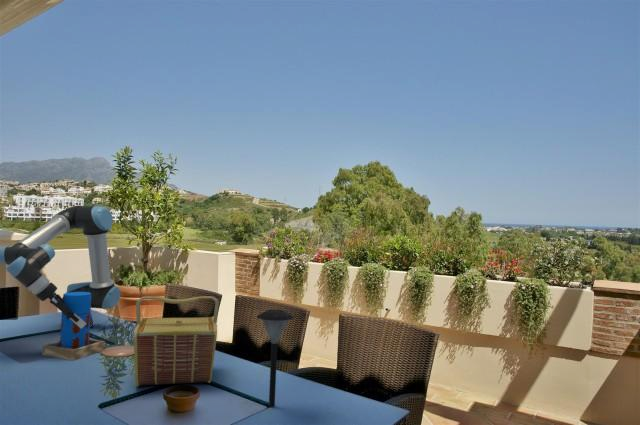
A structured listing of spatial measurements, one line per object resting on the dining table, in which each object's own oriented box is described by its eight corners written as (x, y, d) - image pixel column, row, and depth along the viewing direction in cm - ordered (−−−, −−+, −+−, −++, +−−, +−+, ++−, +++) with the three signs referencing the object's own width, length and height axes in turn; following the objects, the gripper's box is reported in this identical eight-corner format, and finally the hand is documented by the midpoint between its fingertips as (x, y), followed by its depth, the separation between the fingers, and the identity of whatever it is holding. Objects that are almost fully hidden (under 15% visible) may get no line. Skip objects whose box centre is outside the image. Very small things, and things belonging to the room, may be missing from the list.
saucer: (120, 345, 211) (120, 343, 211) (149, 349, 206) (149, 348, 206) (92, 353, 196) (92, 352, 196) (123, 358, 191) (123, 357, 191)
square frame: (75, 345, 207) (75, 336, 207) (104, 350, 202) (104, 341, 202) (42, 355, 192) (43, 345, 192) (73, 360, 186) (73, 350, 186)
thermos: (93, 350, 202) (96, 292, 202) (78, 357, 191) (81, 296, 192) (70, 348, 203) (73, 291, 203) (53, 355, 192) (57, 294, 193)
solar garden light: (291, 399, 154) (295, 308, 155) (290, 414, 142) (294, 315, 142) (254, 398, 153) (258, 307, 154) (250, 413, 141) (254, 314, 142)
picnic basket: (127, 393, 154) (131, 302, 154) (136, 369, 178) (140, 291, 179) (217, 388, 161) (221, 302, 162) (214, 366, 186) (217, 291, 187)
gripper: (35, 291, 200) (73, 324, 207) (34, 299, 179) (77, 336, 187) (50, 278, 203) (87, 311, 210) (51, 285, 182) (92, 321, 190)
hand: (82, 323), depth 198 cm, fingers open, 12 cm apart
